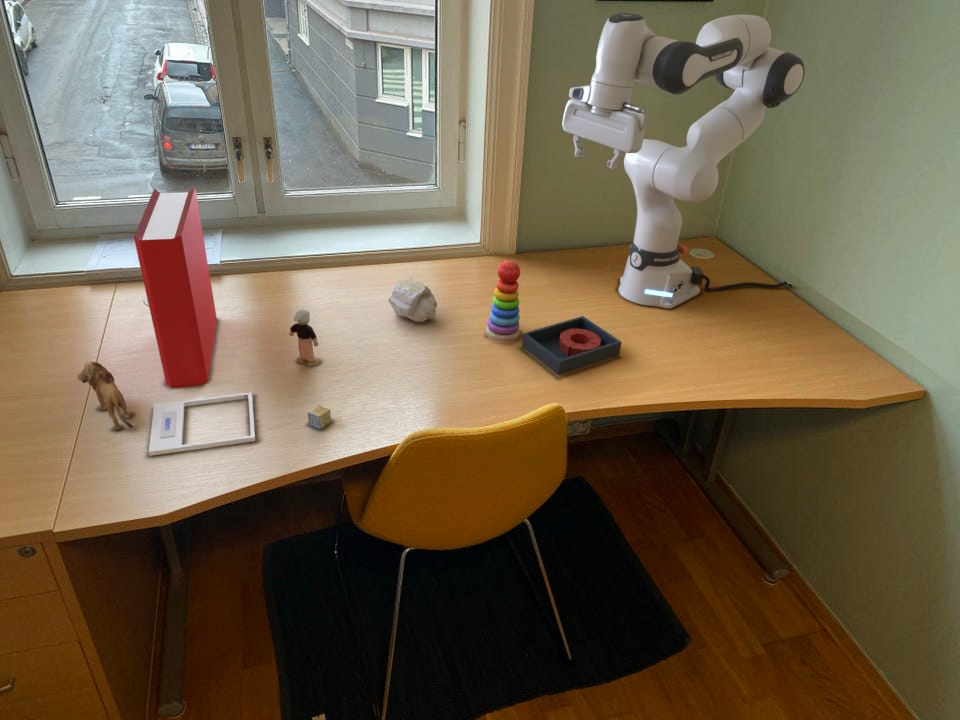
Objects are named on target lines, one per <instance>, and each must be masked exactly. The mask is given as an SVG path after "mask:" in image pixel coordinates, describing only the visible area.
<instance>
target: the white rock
mask: <svg viewBox="0 0 960 720" xmlns="http://www.w3.org/2000/svg"><path fill="white" fill-rule="evenodd" d="M388 302H389V305H390V307H391V308H392V309H393V312H394V314H395V315H398V316H401V317H403V318H407V319H409V320H411V321H412V322H414V323H423V322H425V321H427V320H431V319H433V318H434V317H435V316H436V313H437V307H438V302H437V300H436V297H435V295H434V293H433V292H432V290H431V289H430V288H429V287H428V286H427V285H425V284H423V283H422V282H419V281H417V280H414V279H412V278H411V277H409V278H404V279H402V280H399V281H397V282H396V283H395V284H394V287H393V290H392V293H391V294H390V296H389V298H388Z"/></svg>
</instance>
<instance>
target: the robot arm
mask: <svg viewBox="0 0 960 720" xmlns="http://www.w3.org/2000/svg"><path fill="white" fill-rule="evenodd" d="M645 19H646V18H645V17H644V16H642V15H640V14H637V13H626V12H620V13H615V14H612V15H610V16H609V17H608V18H607V20H606V21H605V23H604V25H603V28H602V31H601V34H600V37H599V41H598V46H597V50H596V56H595V69H594V72H593V74H592V76H591V80H590V84H587V85H582V86H575V87H571V88H570V89H569V93H568V97H569V98H570V99H568V101H567V102H566V105H565V108H564V113H563V117H562V121H561V122H562V123H561V126H562V130H563V132H565V133H569V134H570V135H573V138H572V141H573V144H574V149H575V150H574V157H575V158H579V159H584V158H585V154H586V149H584V145H583V141H584V140H585V139H586V140H589V141H591V142H595V143H598V144H600V145H602V146H603V145H604V146H606V147H608V148H612V149H613V155H614V156H613V157H612V159H607V163H606V164H607V165H606V169H609V170H610V171H616V170H617V168H618V164H619V162H620V161H621V160H622V159H623V158H624V159H623V168H624V171H625V173H626V174H627V176H628V177H629V180H630V182H631V184H632V187H633V191H634V195H635V201H636V208H637V209H636V213H637V214H636V222H635V228H634V235H633V239H632V240H631V243H630V246H629V252H628V257H627V260H626V264H625V267H624V271H623V273H622V274H623V275H622V276H620V279H619V286H618V293H619V295H620V296H621V297H623V298H624V299H625V300H627V301H629V302H632V303H634V304H637V305H642V306H648V307H659V308H663V309H668V310H669V309H670V310H671V309H673V308H675V307H677V306H679V305H681V304H682V303H684V302H685V303H686V301H688V300H690V299H692V298H694V297H696V296H698V295H700V293H701V289H700V287H699V286H702V285H703V281H704V280H705V281H706V282H705V286H704V288H705V290H706V291H707V292H717V291H722V290H727V289H734V288H738V287H746V286H747V287H748V286H753V287H760V288H761V287H762V288H769V289H770V288H771V289H774V288H781V287H784V286H787V285H788V286H789V287H791V288H794V287H795V285H794V286H792V285H791V284H787V282H786V281H787V280H786V281H783V282H779V283H774V284H772V283H761V282H754V281H748V282H747V281H746V282H745V281H744V282H738V283H733V284H732V283H731V284H726V285H722V286H719V287H718V286H717V287H712V288H711V287H709V286H710V284H711V280H710V278H709V277H708V276H707V275H705V273H704V272H703V270H702V269H701V267H700V266H689V265H688V264H687V263H686V262H685V261H683V259H681V258H680V254H682V255H687V254H688V252H689V247H688V246H685V245H683V244H680V245H678V244H679V240H680V235H681V230H682V226H683V216H682V213H681V211H680V210H679V208H678V206H677V205H676V203H675V199H676V200H679V201H684V202H687V203H689V202H690V203H697V204H699V203H702V202H704V201H706V200H707V199H709V198H710V197H711V196H712V195H713V194H714V193H715V191H716V188H717V187H718V183H719V169H718V164H719V163H720V162H721V160H723V159H724V158H725V157H726V156H727V155H728V154H730V153H731V152H732V151H733V150H735V149H736V148H737V147H738V146H740V145H741V144H742V143H743V142H745V140H748V138H749V137H750V136H751V135H752V134H753V133H754V132H755V131H756V130H757V129H758V128H759V126H760V125H761V124H762V122H763V121H764V118H765V114H766V108H768V109H774V108H777V107H779V106H780V105H781V104H782V103H784V102H785V101H787V100H788V99H790V98H791V97H793V95H794V94H796V93H797V92H798V91H799V89H800V88H801V86H802V85H803V84H802V83H803V81H804V79H805V73H806V72H805V63H804V61H803V60H802V58H800V56H798V55H796V54H794V53H791V52H789V51H788V52H785V51H782V50H781V49H780V50H779V49H776V48H773V47H769V46H770V44H771V40H772V29H771V26H770V24H769V22H768V21H767V20H766V19H765V18H763V17H762V16H760V15H755V14H733V15H732V14H731V15H726V16H721V17H718V18H716V19H712V20H710V21H708V22H706V23H704V25H702V27H701V29H700V30H699V31H698V34H697V37H696V39H695V42H693V41H686V40H678V39H674V38H669V37H664V36H660V35H657V34H656V33H655V32H653V31H652V30H651V29H650V28H649V26H648V25H647V24H646V20H645ZM710 77H711V78H712V77H715V80H716V82H717V83H718V84H720V85H721V86H723V87H724V88H727V89H729V90H730V89H732V90H734V91H733V93H732V94H731V95H730V96H729V98H728V99H726V100H723V101H722V102H721V103H719V104H718V105H716V106H715V107H713V108H712V109H710V110H709V111H708V112H707V113H705V114H704V115H703V116H701V117H700V118H699V119H697V120H696V121H695V122H693V123H692V124H691V125H690V127H689V128H688V130H687V133H686V145H685V146H682V147H681V146H676V145H674V144H673V145H672V144H670V143H667V142H664V141H662V140H659V139H650V138H645V129H646V122H647V119H648V118H647V117H648V115H647V113H646V111H645V110H644V108H643V107H642V106H639V105H634V104H632V103H630V102H631V98H632V97H631V96H632V93H633V89H634V84H635V83H634V82H637V83H639V84H643V85H646V86H650V87H653V88H657V89H660V90H662V91H665V92H667V93H669V94H672V95H677V96H678V95H682V94H684V93H687V92H688V91H690V90H691V89H692V88H694V87H695V86H696V85H697V84H699V83H700V82H702V81H704V80H706V79H708V78H710Z"/></svg>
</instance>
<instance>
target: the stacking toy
mask: <svg viewBox="0 0 960 720" xmlns="http://www.w3.org/2000/svg"><path fill="white" fill-rule="evenodd" d="M497 276H498V278H499V280H498V281H497V282H496V288H495V289H494V292H493V293H494V296H493V298H492V304H491V308H490V310H491V311H490V313H489V318H488V320H487V322H486V324H487V325H486V328H485V333H486V336H488V337H489V338H490V339H492V340H495V341H498V342H499V341H500V342H511V341H514V340H517V339H518V338H519V337H520V335H521V330H520V319H521V317H520V306H519V305H520V299H519V291H518V290H519V287H520V284H519V281H517V280H519V278H520V276H521V268H520V265H519V263H517V262H516V261H513V260H505V261H503V262H501V263H500V264H499V266H498V268H497Z"/></svg>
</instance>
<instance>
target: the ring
mask: <svg viewBox="0 0 960 720" xmlns="http://www.w3.org/2000/svg"><path fill="white" fill-rule="evenodd" d="M575 342H578V343H584V344H578V343H575ZM600 343H601V338H600V337H599V336H598V335H596V334H595V333H594V332H592V331H590V332H589V330H585V329H578V328H575V329H573V328H572V329H569V330H566V331H563V332H562V333H561V335H560V339H559V347H558V348H559V350H561V351H562V352H563V353H565V354H566V355H567V356H569V355H570V356H573V355H576V354H579V353H582V352H585V351H589V350H592V349H595V348H598V347H600Z"/></svg>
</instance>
